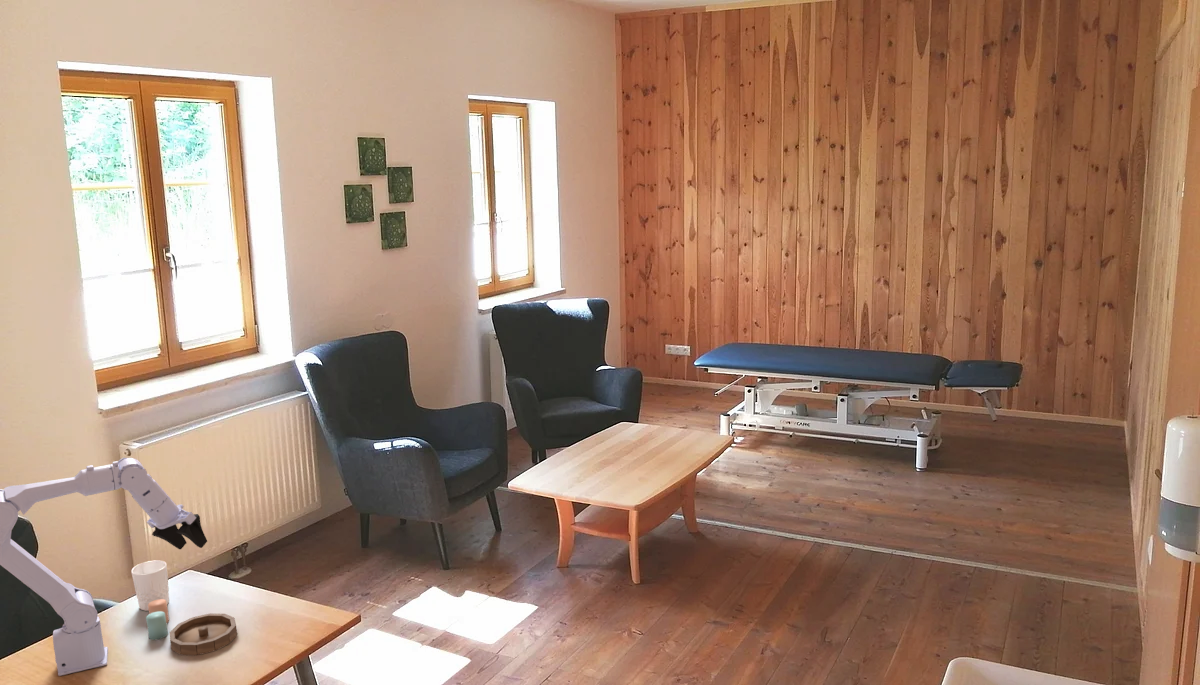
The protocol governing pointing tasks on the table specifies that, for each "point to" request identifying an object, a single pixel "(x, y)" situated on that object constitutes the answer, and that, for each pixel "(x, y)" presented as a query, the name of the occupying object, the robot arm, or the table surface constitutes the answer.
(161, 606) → the peach rounded cylinder
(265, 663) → the table surface
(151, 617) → the pale teal rounded piece
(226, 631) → the tray
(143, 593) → the white cup
